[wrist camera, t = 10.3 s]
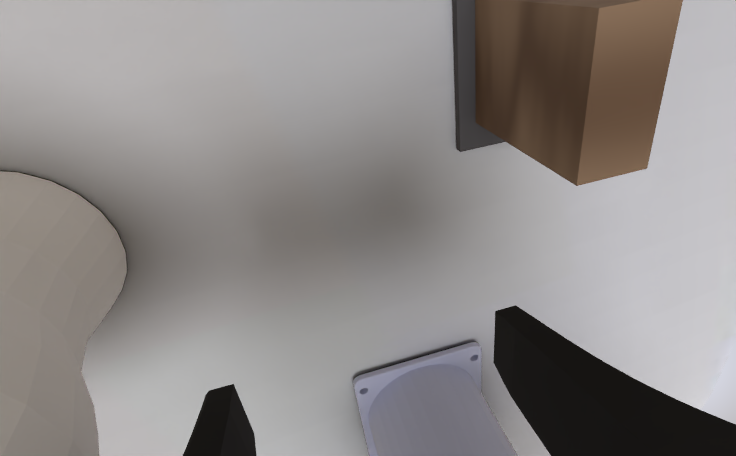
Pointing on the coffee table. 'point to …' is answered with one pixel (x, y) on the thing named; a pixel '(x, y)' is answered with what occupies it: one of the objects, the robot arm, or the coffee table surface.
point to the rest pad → (467, 80)
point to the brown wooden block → (574, 80)
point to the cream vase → (51, 313)
